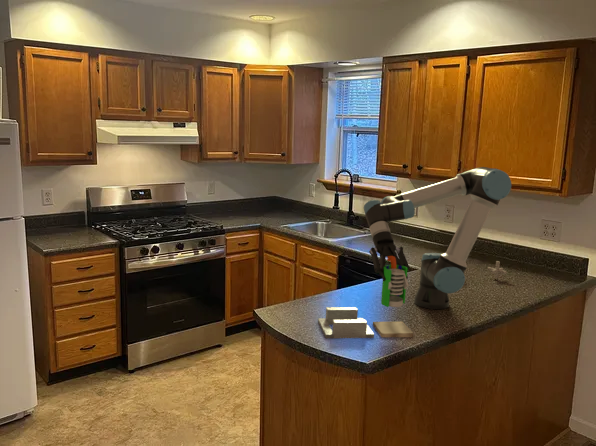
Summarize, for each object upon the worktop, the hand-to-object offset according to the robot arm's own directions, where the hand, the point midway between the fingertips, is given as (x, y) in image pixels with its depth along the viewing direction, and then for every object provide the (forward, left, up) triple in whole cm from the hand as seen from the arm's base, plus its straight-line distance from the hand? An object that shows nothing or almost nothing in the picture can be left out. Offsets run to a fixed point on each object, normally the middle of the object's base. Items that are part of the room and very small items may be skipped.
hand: (398, 287), depth 194 cm
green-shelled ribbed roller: (+1, -4, -7) cm, 8 cm away
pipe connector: (-79, -72, -18) cm, 109 cm away
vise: (+18, -7, -18) cm, 27 cm away
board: (0, -3, -18) cm, 18 cm away
